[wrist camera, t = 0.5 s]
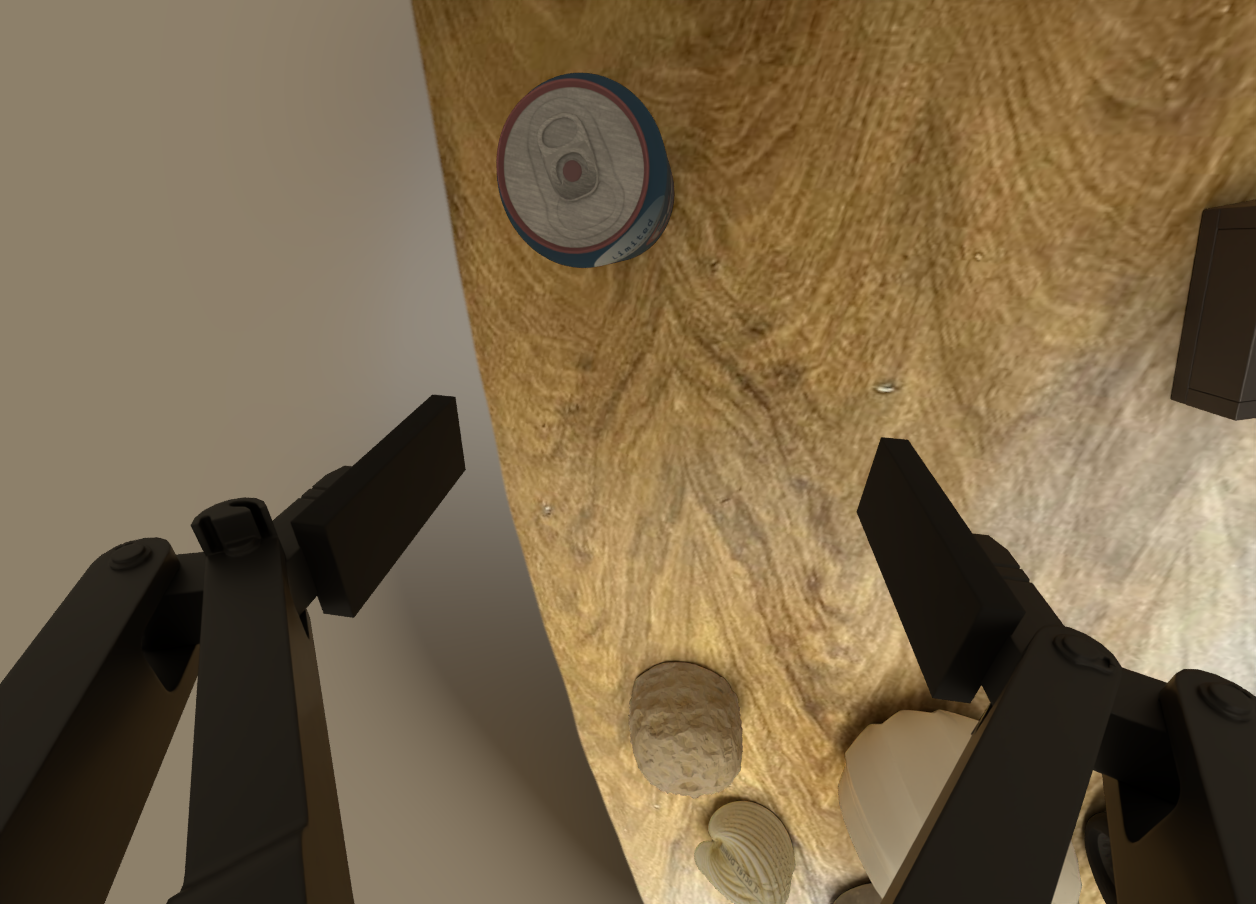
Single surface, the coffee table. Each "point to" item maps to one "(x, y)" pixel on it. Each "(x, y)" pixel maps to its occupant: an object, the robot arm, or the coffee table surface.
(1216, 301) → the square wooden tray
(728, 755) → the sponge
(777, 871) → the seashell
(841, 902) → the dish
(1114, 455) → the coffee table surface
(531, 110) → the soda can
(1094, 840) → the controller
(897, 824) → the vase
